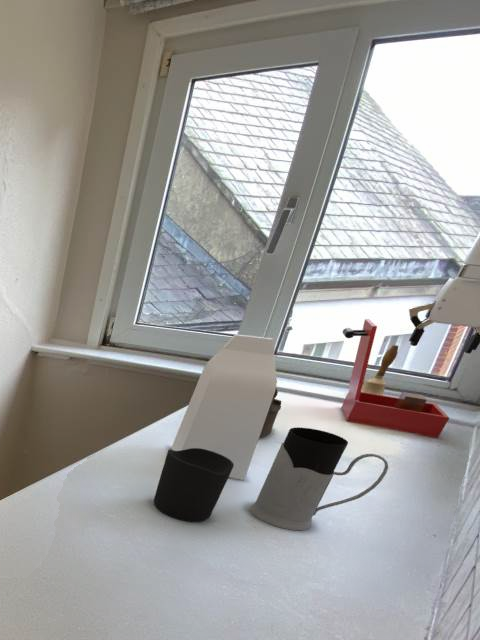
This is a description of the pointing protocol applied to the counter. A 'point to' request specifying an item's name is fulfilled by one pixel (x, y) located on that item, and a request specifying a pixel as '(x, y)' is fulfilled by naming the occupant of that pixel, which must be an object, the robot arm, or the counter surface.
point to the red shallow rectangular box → (394, 415)
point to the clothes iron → (271, 416)
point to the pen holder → (191, 483)
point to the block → (410, 402)
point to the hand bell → (380, 374)
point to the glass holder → (303, 478)
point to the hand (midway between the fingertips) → (439, 348)
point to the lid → (361, 355)
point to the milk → (231, 402)
